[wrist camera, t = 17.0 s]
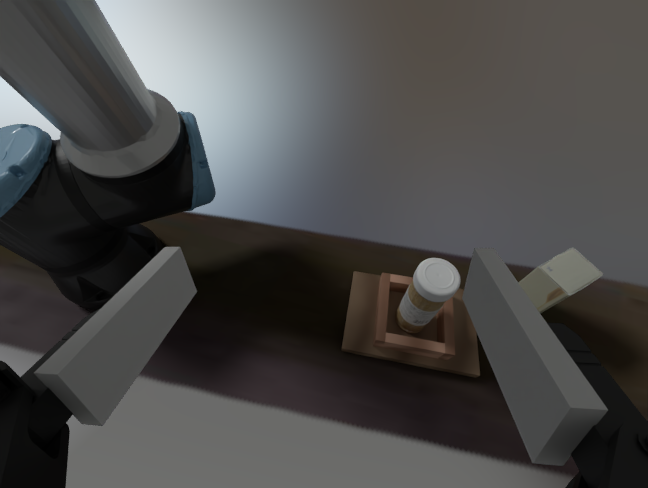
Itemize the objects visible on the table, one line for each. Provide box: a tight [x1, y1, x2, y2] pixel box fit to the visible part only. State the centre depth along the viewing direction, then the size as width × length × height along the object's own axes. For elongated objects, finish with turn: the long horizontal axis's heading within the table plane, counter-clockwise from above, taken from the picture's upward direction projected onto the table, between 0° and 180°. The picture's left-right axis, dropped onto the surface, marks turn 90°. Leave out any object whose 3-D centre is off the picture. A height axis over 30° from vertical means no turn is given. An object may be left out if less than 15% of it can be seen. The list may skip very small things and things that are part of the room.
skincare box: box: [519, 248, 603, 313], centre depth 39 cm, size 6×4×12 cm
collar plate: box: [341, 271, 480, 378], centre depth 41 cm, size 18×12×4 cm, turn 79°
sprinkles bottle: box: [395, 258, 460, 333], centre depth 36 cm, size 5×5×14 cm
